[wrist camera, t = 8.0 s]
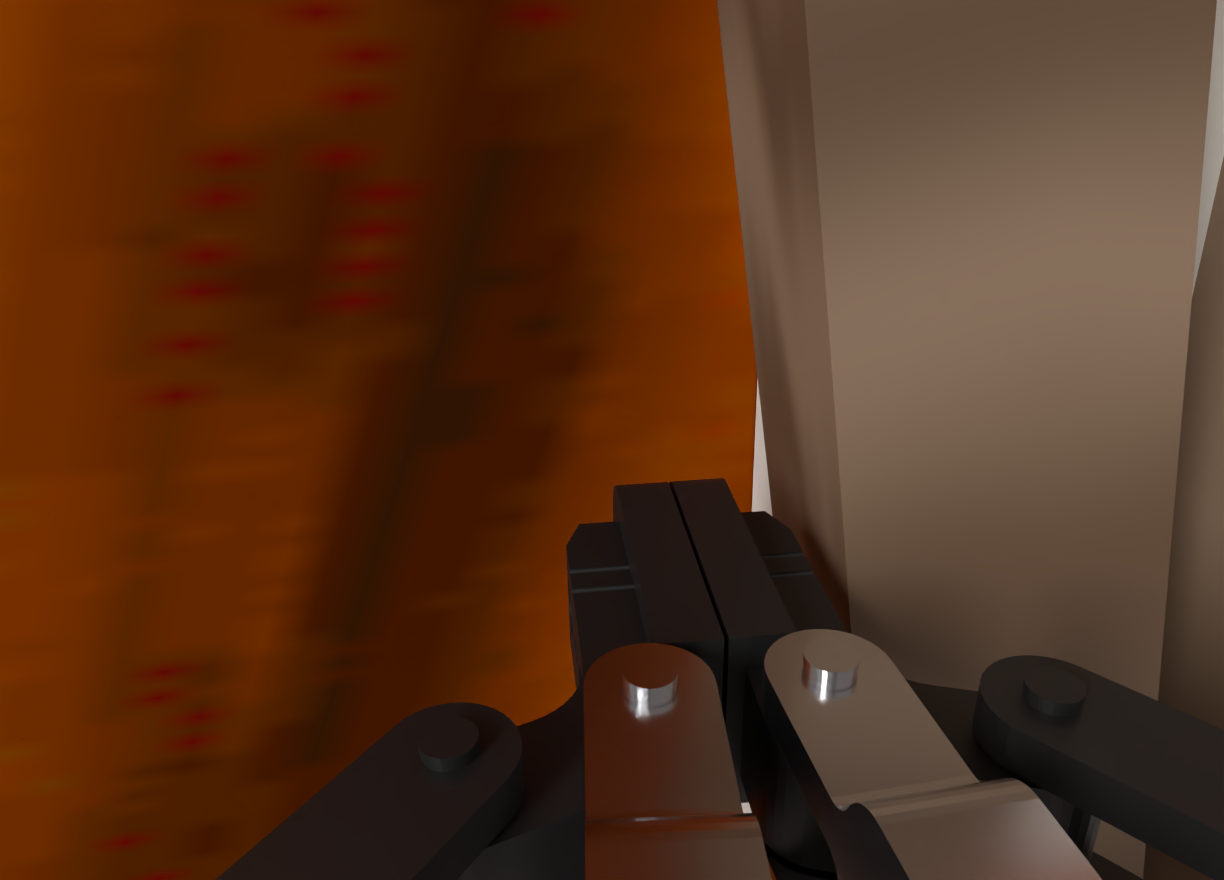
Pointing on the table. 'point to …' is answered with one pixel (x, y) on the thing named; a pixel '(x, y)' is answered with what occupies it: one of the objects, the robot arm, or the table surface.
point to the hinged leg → (975, 315)
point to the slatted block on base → (1178, 474)
